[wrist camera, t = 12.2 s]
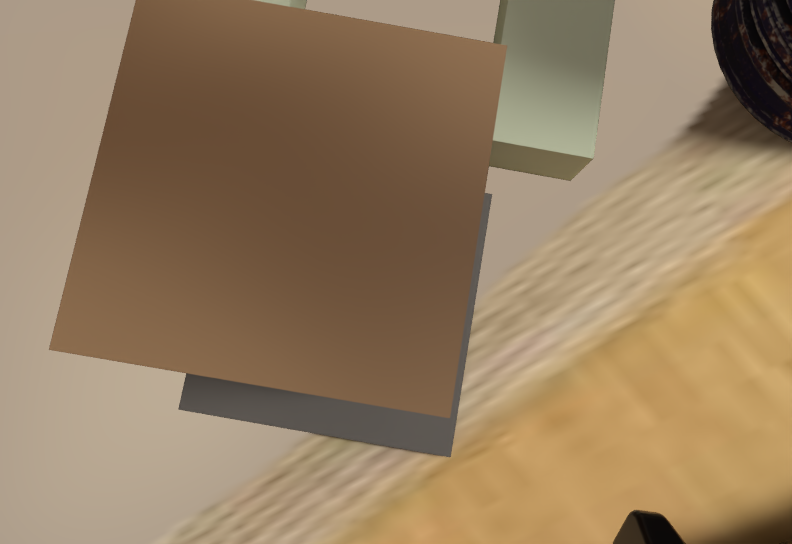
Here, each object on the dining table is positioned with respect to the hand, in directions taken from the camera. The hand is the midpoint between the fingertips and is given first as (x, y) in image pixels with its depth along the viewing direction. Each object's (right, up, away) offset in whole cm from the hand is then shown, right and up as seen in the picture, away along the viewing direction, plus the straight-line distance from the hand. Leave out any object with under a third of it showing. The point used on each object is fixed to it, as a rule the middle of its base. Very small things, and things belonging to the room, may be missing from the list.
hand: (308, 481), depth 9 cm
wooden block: (-1, +2, +13) cm, 13 cm away
